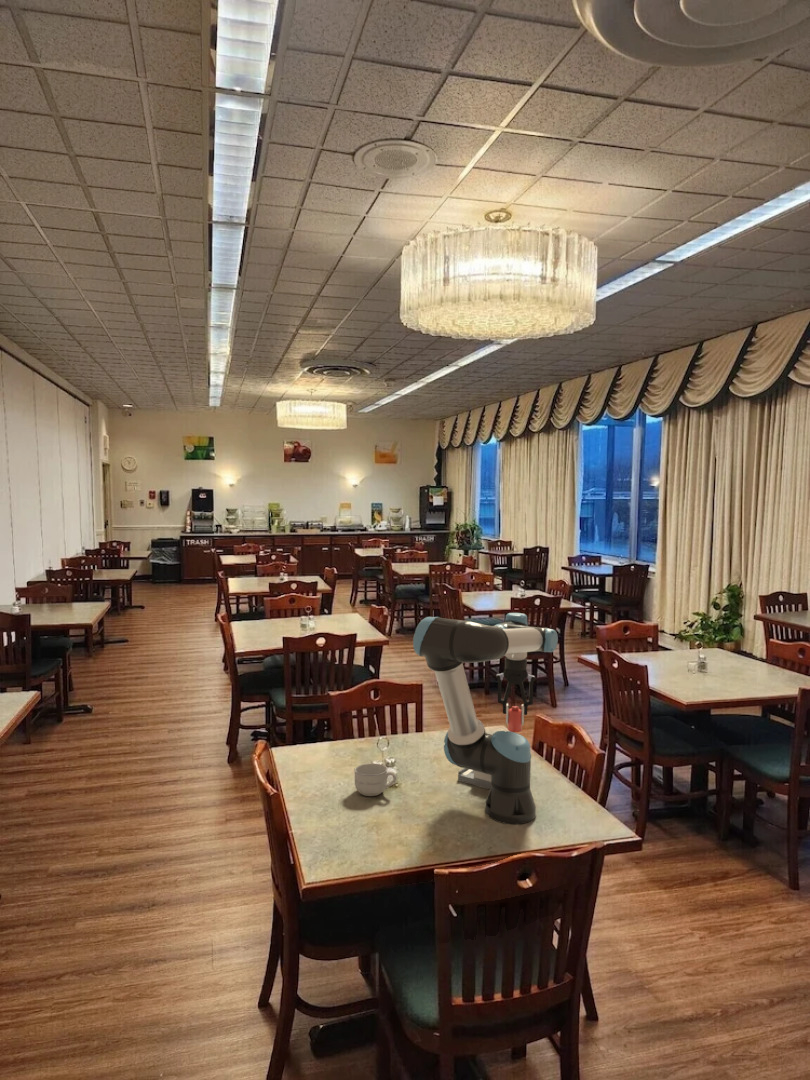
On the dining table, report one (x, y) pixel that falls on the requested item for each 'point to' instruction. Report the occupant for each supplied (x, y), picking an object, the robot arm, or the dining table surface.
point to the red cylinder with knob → (515, 719)
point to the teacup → (372, 779)
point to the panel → (472, 778)
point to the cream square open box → (482, 776)
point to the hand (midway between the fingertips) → (514, 723)
